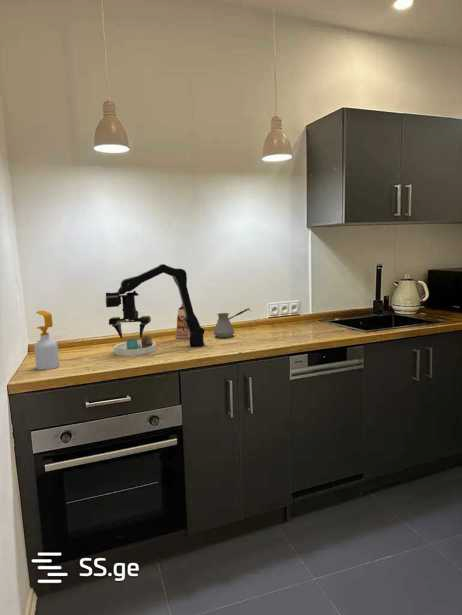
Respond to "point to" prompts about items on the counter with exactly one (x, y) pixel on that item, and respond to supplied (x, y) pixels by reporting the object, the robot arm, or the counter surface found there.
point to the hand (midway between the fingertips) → (131, 338)
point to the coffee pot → (225, 325)
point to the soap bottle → (46, 346)
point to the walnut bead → (146, 341)
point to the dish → (122, 349)
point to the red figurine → (181, 327)
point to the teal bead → (132, 343)
